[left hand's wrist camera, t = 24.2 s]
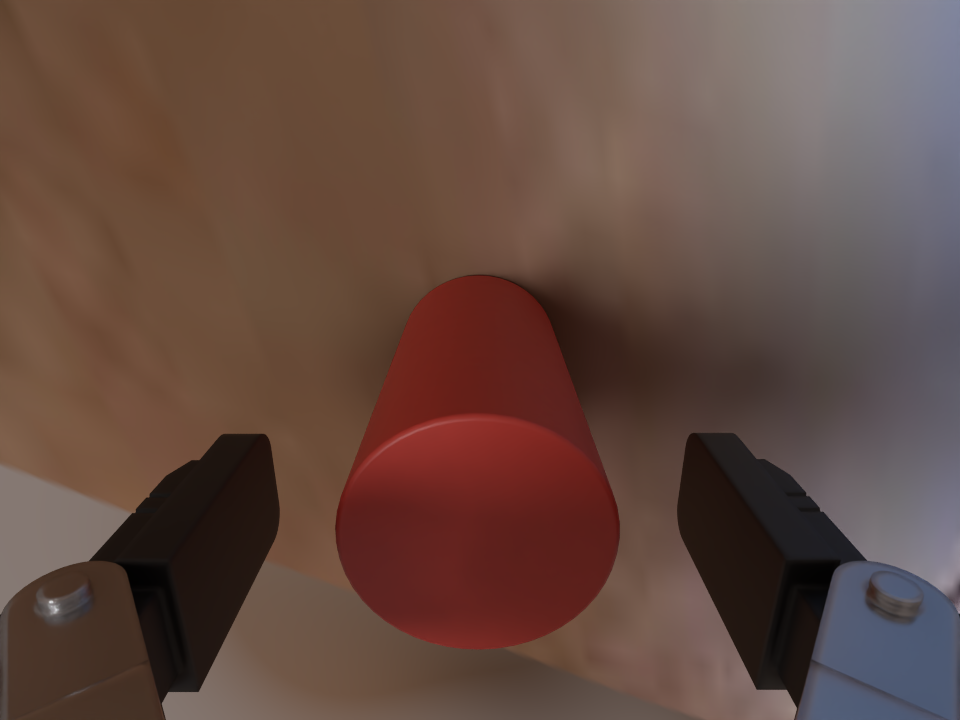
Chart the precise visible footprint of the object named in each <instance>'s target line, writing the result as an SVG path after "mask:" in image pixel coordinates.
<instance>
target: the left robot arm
mask: <svg viewBox="0 0 960 720" xmlns="http://www.w3.org/2000/svg"><path fill="white" fill-rule="evenodd" d="M279 516H280V508H279V499H278V493H277V486H276V479H275V472H274V465H273V458H272V451H271V445H270V441H269V439H268V437H267V436H266V435H265V434H223V435H221V436H220V437H219V438H218V439H217V440H216V441H215V443H214V444H213V445H212V446H211V447H210V449H209V450H208V451H207V452H206V453H205V454H204V456H203V457H202V458H201V459H200V460H191V461H190V462H188V463H186V464H185V465H183V466H182V467H180V468H178V469H177V470H175V471H173V472H172V473H170V474H168V475H167V476H166V477H165V478H164V479H163V480H162V481H161V482H160V483H159V484H158V485H157V487H156V488H155V489H154V490H153V491H152V492H151V493H150V497H149V498H146V499H145V500H144V501H143V502H142V503H141V504H140V505H139V506H138V507H137V509H136V513H132V514H131V515H130V516H129V517H128V518H127V520H126V521H125V522H124V523H123V524H122V525H121V526H120V527H119V528H118V530H117V531H116V532H115V533H114V534H113V535H112V536H111V537H110V538H109V540H108V541H107V542H106V543H105V544H104V545H103V546H102V547H101V548H100V549H99V550H98V552H97V553H96V554H95V555H94V556H93V557H92V558H91V559H90V560H89V561H88V562H82V563H77V564H73V565H69V566H66V567H63V568H60V569H57V570H55V571H52V572H50V573H48V574H46V575H44V576H42V577H40V578H38V579H36V580H35V581H33V582H31V583H30V584H28V585H27V586H26V587H24V588H23V589H22V590H20V591H19V592H18V593H17V594H16V595H15V596H14V597H13V598H12V599H11V600H10V601H9V602H8V604H7V605H6V606H5V608H4V609H3V612H2V614H1V615H0V720H166V719H165V715H164V711H163V707H162V702H163V700H164V698H165V697H166V695H167V693H168V692H199V690H200V688H201V686H202V684H203V682H204V680H205V678H206V676H207V674H208V672H209V670H210V668H211V666H212V664H213V662H214V660H215V658H216V656H217V654H218V652H219V650H220V648H221V646H222V644H223V642H224V640H225V638H226V636H227V634H228V632H229V630H230V628H231V626H232V624H233V622H234V620H235V618H236V616H237V614H238V612H239V610H240V608H241V606H242V604H243V602H244V600H245V598H246V596H247V594H248V592H249V590H250V588H251V586H252V584H253V582H254V580H255V578H256V576H257V574H258V572H259V570H260V568H261V566H262V564H263V562H264V560H265V558H266V556H267V554H268V552H269V550H270V548H271V546H272V544H273V542H274V540H275V538H276V535H277V531H278V526H279ZM677 517H678V525H679V530H680V534H681V537H682V539H683V541H684V543H685V545H686V547H687V549H688V551H689V554H690V556H691V558H692V560H693V562H694V564H695V566H696V568H697V570H698V572H699V574H700V576H701V578H702V580H703V582H704V584H705V586H706V588H707V590H708V592H709V594H710V596H711V598H712V600H713V602H714V604H715V606H716V608H717V610H718V612H719V614H720V616H721V618H722V620H723V622H724V624H725V626H726V628H727V630H728V632H729V634H730V636H731V638H732V641H733V643H734V645H735V647H736V649H737V651H738V653H739V655H740V657H741V659H742V661H743V663H744V665H745V667H746V669H747V671H748V673H749V675H750V677H751V679H752V681H753V683H754V685H755V687H756V689H757V690H787V691H788V692H789V694H790V696H791V698H792V700H793V702H794V703H795V705H796V707H797V711H796V715H795V719H794V720H960V614H958V612H957V609H956V608H955V606H954V605H953V603H952V602H951V601H950V600H949V599H948V598H947V597H946V596H945V595H944V594H943V593H942V592H941V591H940V590H938V589H937V588H936V587H934V586H933V585H932V584H930V583H929V582H927V581H925V580H924V579H922V578H920V577H918V576H916V575H914V574H912V573H910V572H908V571H905V570H903V569H900V568H897V567H894V566H891V565H887V564H883V563H878V562H872V561H867V560H866V559H865V558H864V557H863V556H862V554H861V553H860V552H859V551H858V550H857V549H856V548H855V547H854V546H853V544H852V543H851V542H850V541H849V540H848V539H847V538H846V537H845V535H844V534H843V533H842V532H841V531H840V530H839V529H838V528H837V527H836V525H835V524H834V523H833V522H832V521H831V520H830V519H829V518H828V517H827V515H826V514H825V513H824V512H820V508H819V507H818V505H817V504H816V503H815V502H814V501H813V500H812V499H811V498H810V497H809V496H806V492H805V491H804V490H803V489H802V488H801V487H800V485H799V484H798V483H797V482H796V481H795V480H794V479H793V478H792V476H791V475H790V474H788V473H786V472H785V471H783V470H781V469H780V468H778V467H776V466H775V465H773V464H772V463H770V462H768V461H767V460H765V459H756V458H755V457H754V456H753V454H752V453H751V452H750V451H749V450H748V448H747V447H746V446H745V445H744V444H743V442H742V441H741V440H740V439H739V438H738V436H737V435H735V434H734V433H692V434H690V436H689V437H688V439H687V443H686V448H685V455H684V462H683V469H682V476H681V484H680V491H679V498H678V506H677Z"/></svg>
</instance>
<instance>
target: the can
mask: <svg viewBox="0 0 960 720" xmlns="http://www.w3.org/2000/svg"><path fill="white" fill-rule="evenodd" d="M335 530H336V544H337V549H338V553H339V558H340V561H341V564H342V566H343V569H344V572H345V574H346V576H347V578H348V580H349V581H350V583H351V585H352V587H353V588H354V590H355V591H356V592H357V594H358V595H359V596H360V598H361V599H362V600H363V601H364V602H365V603H366V604H367V605H368V607H370V609H371V610H372V611H373V612H375V613H376V614H377V615H378V616H380V617H381V618H382V619H383V620H385V621H386V622H388V623H389V624H391V625H393V626H394V627H396V628H397V629H399V630H401V631H403V632H405V633H407V634H409V635H411V636H413V637H416V638H418V639H421V640H424V641H427V642H430V643H434V644H438V645H442V646H446V647H453V648H461V649H495V648H502V647H508V646H514V645H518V644H522V643H525V642H529V641H532V640H534V639H537V638H540V637H542V636H545V635H547V634H549V633H551V632H553V631H555V630H557V629H558V628H560V627H562V626H563V625H565V624H566V623H568V622H569V621H571V620H572V619H574V618H575V617H576V616H577V615H578V614H580V613H581V612H582V611H583V610H584V609H585V608H586V607H587V606H588V605H589V604H590V603H591V602H592V601H593V600H594V598H595V597H596V596H597V595H598V593H599V592H600V590H601V589H602V587H603V586H604V584H605V583H606V581H607V579H608V577H609V575H610V572H611V570H612V568H613V565H614V561H615V558H616V555H617V551H618V545H619V539H620V521H619V515H618V509H617V504H616V501H615V498H614V495H613V492H612V490H611V487H610V484H609V481H608V479H607V476H606V473H605V470H604V468H603V465H602V462H601V459H600V457H599V454H598V451H597V448H596V446H595V443H594V440H593V438H592V435H591V432H590V429H589V427H588V424H587V421H586V418H585V416H584V413H583V410H582V407H581V405H580V402H579V399H578V397H577V394H576V391H575V388H574V386H573V383H572V380H571V377H570V375H569V372H568V369H567V366H566V364H565V361H564V358H563V356H562V353H561V350H560V347H559V345H558V342H557V339H556V336H555V334H554V331H553V328H552V325H551V323H550V320H549V318H548V316H547V314H546V312H545V311H544V309H543V308H542V306H541V305H540V304H539V303H538V302H537V300H536V299H535V298H534V297H533V296H532V295H530V294H529V293H528V292H527V291H526V290H524V289H522V288H521V287H519V286H518V285H516V284H514V283H512V282H509V281H507V280H504V279H501V278H497V277H491V276H480V275H475V276H465V277H461V278H456V279H454V280H451V281H448V282H446V283H444V284H442V285H440V286H438V287H436V288H435V289H433V290H432V291H431V292H429V293H428V294H427V295H426V296H425V297H424V298H423V299H422V300H421V301H420V302H419V303H418V304H417V306H416V307H415V308H414V310H413V312H412V313H411V315H410V317H409V319H408V321H407V324H406V326H405V329H404V332H403V334H402V337H401V339H400V342H399V345H398V347H397V350H396V353H395V355H394V358H393V361H392V363H391V366H390V369H389V371H388V374H387V376H386V379H385V382H384V384H383V387H382V390H381V392H380V395H379V398H378V400H377V403H376V405H375V408H374V411H373V413H372V416H371V419H370V421H369V424H368V427H367V429H366V432H365V434H364V437H363V440H362V442H361V445H360V448H359V450H358V453H357V456H356V458H355V461H354V464H353V466H352V469H351V471H350V474H349V477H348V479H347V482H346V485H345V487H344V490H343V493H342V495H341V499H340V502H339V506H338V510H337V516H336V525H335Z"/></svg>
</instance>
